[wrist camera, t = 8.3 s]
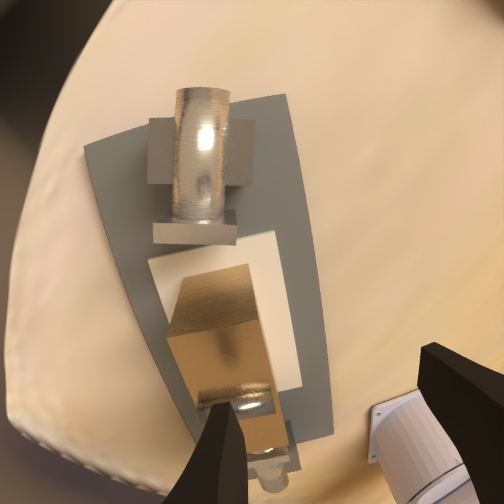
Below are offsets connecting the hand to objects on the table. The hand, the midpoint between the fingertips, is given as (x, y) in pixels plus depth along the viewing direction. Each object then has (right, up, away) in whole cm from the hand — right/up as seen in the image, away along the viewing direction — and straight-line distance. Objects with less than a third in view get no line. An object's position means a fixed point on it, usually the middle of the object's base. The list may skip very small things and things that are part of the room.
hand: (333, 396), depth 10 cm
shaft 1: (-5, +10, +5) cm, 12 cm away
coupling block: (-4, +1, +8) cm, 9 cm away
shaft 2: (-2, -9, +12) cm, 15 cm away
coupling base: (-4, +1, +9) cm, 10 cm away
